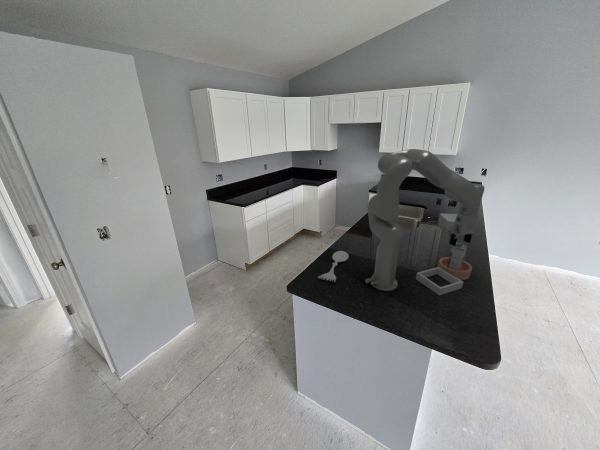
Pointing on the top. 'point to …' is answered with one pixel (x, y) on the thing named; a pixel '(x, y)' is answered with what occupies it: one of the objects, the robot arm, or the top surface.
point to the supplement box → (446, 222)
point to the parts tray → (445, 289)
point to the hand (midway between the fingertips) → (459, 243)
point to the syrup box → (457, 256)
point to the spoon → (337, 257)
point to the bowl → (461, 274)
